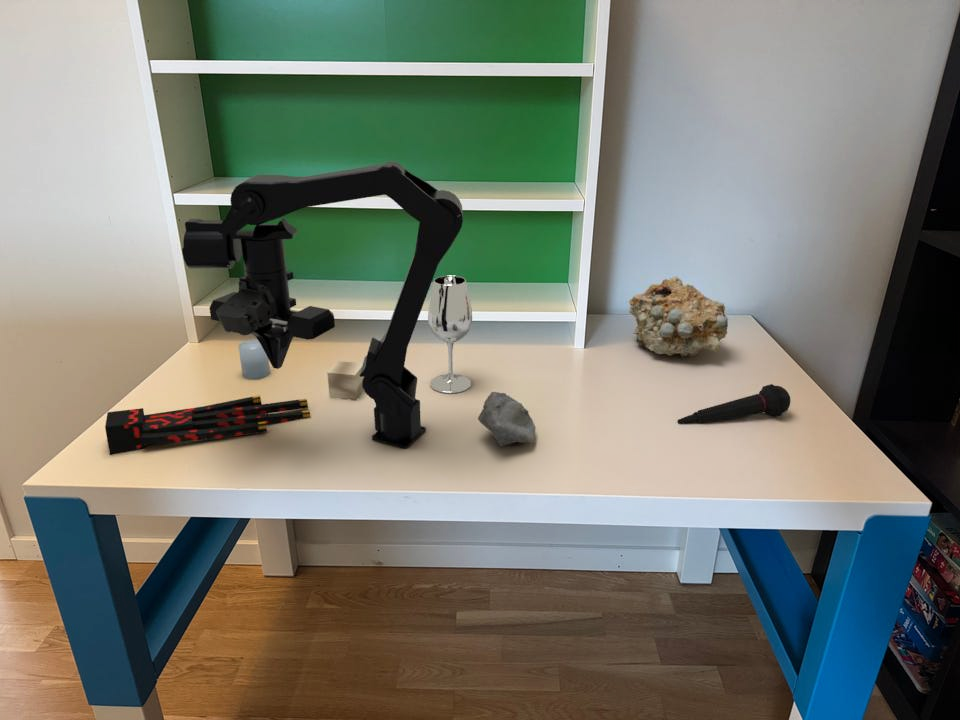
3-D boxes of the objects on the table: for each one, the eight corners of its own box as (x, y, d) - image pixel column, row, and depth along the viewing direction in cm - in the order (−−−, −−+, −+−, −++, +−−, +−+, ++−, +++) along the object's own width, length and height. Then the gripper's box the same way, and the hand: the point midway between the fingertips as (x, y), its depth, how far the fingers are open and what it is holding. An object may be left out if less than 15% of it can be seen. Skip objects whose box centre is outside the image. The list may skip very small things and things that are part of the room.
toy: (305, 413, 120) (112, 436, 109) (304, 387, 118) (107, 408, 107) (314, 435, 113) (108, 463, 102) (313, 408, 111) (103, 434, 100)
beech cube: (365, 388, 125) (364, 363, 123) (356, 400, 121) (355, 375, 119) (339, 385, 126) (337, 361, 124) (329, 398, 122) (327, 372, 119)
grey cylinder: (275, 371, 131) (272, 342, 128) (256, 382, 127) (252, 352, 124) (256, 365, 133) (252, 337, 131) (236, 375, 129) (232, 346, 127)
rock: (622, 336, 152) (623, 270, 147) (710, 332, 151) (715, 265, 145) (636, 370, 135) (638, 297, 129) (736, 366, 134) (742, 292, 128)
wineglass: (478, 380, 129) (479, 277, 120) (460, 397, 122) (460, 289, 114) (441, 372, 132) (440, 271, 123) (421, 388, 125) (418, 283, 117)
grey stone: (535, 461, 103) (537, 414, 100) (475, 458, 104) (475, 411, 101) (534, 424, 114) (537, 381, 110) (480, 422, 114) (480, 378, 111)
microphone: (682, 445, 114) (791, 420, 117) (688, 422, 110) (801, 397, 113) (668, 421, 118) (774, 397, 121) (673, 398, 114) (782, 374, 117)
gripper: (172, 274, 95) (190, 376, 101) (280, 293, 88) (293, 402, 94) (230, 254, 104) (244, 349, 110) (332, 271, 97) (340, 371, 103)
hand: (277, 367), depth 104 cm, fingers closed
